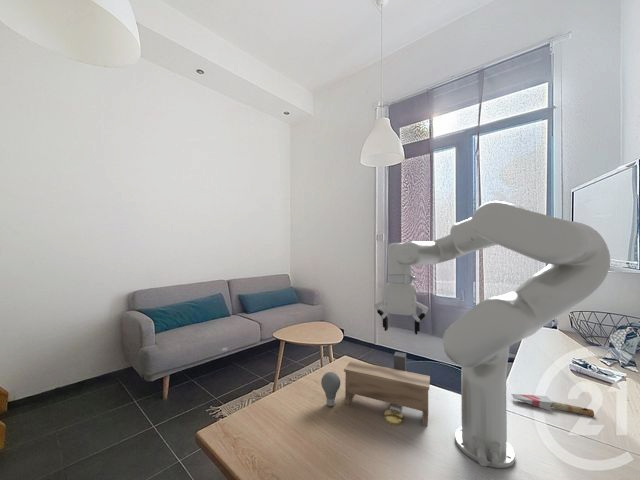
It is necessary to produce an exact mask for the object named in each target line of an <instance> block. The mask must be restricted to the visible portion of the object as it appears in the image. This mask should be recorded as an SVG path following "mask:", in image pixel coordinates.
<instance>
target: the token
mask: <svg viewBox="0 0 640 480" xmlns="http://www.w3.org/2000/svg"><path fill="white" fill-rule="evenodd" d="M383 419H384V420H385V422H386V423H387V424H388V425H391V426H394V427H395V426H400V425H402V424H403V415H402V412H401V413H400V412H398V411H396V410H390V409H387V410H385V411H384V417H383Z"/></svg>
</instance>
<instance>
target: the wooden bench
mask: <svg viewBox="0 0 640 480" xmlns="http://www.w3.org/2000/svg"><path fill="white" fill-rule="evenodd" d="M343 372H345V378H344V379H345V381H344V382H345V384H344V385H345V391H344V393H345V398H344V399H345V401H344V402H345V405H348V406H349V405H350V404H351V403H352V401H353V399H354V397H355V395H356V396H361V397H364V398H367V399H373V400H377V401H381V402H385V403H388V404H391V403H392V404H396V405H400V406H403V407H404V408H408V409H413V410H416V411H420V412H422V426H425V427H428V421H429V391H430V387H431V376H430V375H427V374H421V373H417V372H416V373H415V372H412V371H411V372H410V371H407V370H406V371H401V370H396V369H394V368H391V367H386V366H382V365H381V366H380V365H374V364H370V363H366V362H360V361H355V360H354V361H353V360H350V361H349V362H348V364H347V365H346V366H345V367H344V369H343Z"/></svg>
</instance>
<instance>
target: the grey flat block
mask: <svg viewBox="0 0 640 480" xmlns="http://www.w3.org/2000/svg"><path fill="white" fill-rule="evenodd" d="M393 369H396V370H401V371H407V353H406V352H401V351H395V352H394V354H393ZM403 407H404V406H400V405H396V404H392V403H390V405H389V410H396V411H398V412H400V413H401V414H402V412H403Z"/></svg>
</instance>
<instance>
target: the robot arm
mask: <svg viewBox="0 0 640 480" xmlns="http://www.w3.org/2000/svg"><path fill="white" fill-rule="evenodd" d="M449 231H450V232H449V233H450V234H448V235H446V236H444V237H443V236H442V237H441V238H438V239H435V240H431V241H425V240H423V241H422V240H421V241H420V240H418V241H416V240H413V241H407V242H393V243H389V244H388V246H387V272H388V273H387V275H388V276H387V277H388V282H387V283H385V284H386V286H385V291H384V299H383V300H381V301H379V302H376V303H375V304H374V305H373V306H374V308H375V310H376V313H377V314H378V315H379V316H380V317H381V318H382V328H384V332H387V331H388V330H389V317H388V315H389V314H392V315H401V316H412V318H413V319H414V334H415V335H418V333H419V332H420V331H421V328H420V327H421V325H420V322H421V321H422V320H423V319H424V318H425V317H426V315H427V313H428V311H429V307H428V306H426V305H424V304H423V303H421V302H418V301H417V292H416V285H415V284H414V283H412V282H416V281H417V277H416V276H413V274H412V266H426V265H427V266H433V265H437V264H441V263H444V262H448V261H452V260H454V259H458V258H460V257H462V256H466V255H467V254H471V253H473V252H476V251H477V252H478V251H480V250H483V249H487V248H490V247H494V246H500V247H503V248H504V249H507V250H510V251H512V252H515V253H517V254H520V255H522V256H525V257H527V258H530V259H532V260H535V261H536V262H537V261H538V262H540V263H544V264H547V265H546V266H544V268H543V269H541V270H539V271H538V272H536V273H534V274H533V275H532V276H530V277H529V278H528V279H527V280H526V281H525V282H523V283H522V284H520V285H519V286H518V287H516V288H514V289H513V290H512V291H509V292H507V293H505V294H500V295H495V296H492V297H489V298H485V299H484V300H482V301H480V302H478V303H477V304H476V305H474V306H473V307H472V308H471V309H469V310H468V311H467V312H466V313H464V314H462V316H460V317H459V318H458V319H456V320H455V321H454V322H453V323H451V324H450V325H449V326H448V327H447V328H446V330H445V331H444V333H443V335H442V342H441V343H442V348H443V351H444V353H445V355H446V356H447V358H448V359H449V360H450V361H451V362H453V364H455V365H458V366H460V367H461V375H460V376H461V378H460V381H461V383H460V384H461V393H460V394H461V426H460V427H459V428H457V429H456V431H455V432H454V440H455V443H456V445H457V447H458V448H459V449H460V451H462V452H463V454H464V455H466V456H467V457H469V458H470V459H472V460H474V462H477V463H479V464H480V465H481V466H482V467H487V466H488V467H491V468H495V469H496V468H497V469H505V468H509V467H511V466H513V464H515V461H516V452H515V450H514V448H513V447H512V445H511V444H510V443H509V442H508V441H507V440H508V438H507V437H508V434H507V433H508V428H507V422H508V421H507V420H508V419H507V418H508V417H507V372H508V371H507V370H508V361H509V356H510V355H509V353H510V347H511V346H513V345H514V344H516V343H519V342H520V341H522V340H524V339H528V338H529V337H531V336H533V335H534V334H536V333H537V332H538V331H539V330H541V329H542V328H544V327H545V326H546V325H548V324H549V323H551V322H552V321H554V320H555V319H557V318H558V317H560V316H562V315H563V314H565V313H566V312H568V311H569V310H570V309H572V308H573V307H575V306H577V305H578V304H580V303H581V302H583V301H584V300H586V299H587V298H588V297H590V296H592V295H593V293H594V292H596V291H597V290H598V289H599V287H600V286H601V285H602V284H603V283H604V281H605V280H606V278H607V276H608V273H609V270H610V266H611V254H610V250H609V247H608V244H607V243H606V241H605V239H604V237H603V236H602V235H601V233H599V232H598V231H597V230H596V229H594V228H593V227H592V226H590V225H587V224H585V223H582V222H577V221H572V220H571V221H570V220H567V219H562V218H559V217H554V216H551V215H547V214H543V213H539V212H537V211H532V210H529V209H525V208H524V207H522V206H520V205H518V204H515V203H510V202H506V201H499V200H493V201H489V202H485V203H484V204H481V205H480V206H478V207H477V208H476V209H475V210H474V211H473V213H472V215H471V217H469V218H468V219H464V220H461V221H460V222H455V223H454V224H453V225H452V226H451V228H450V230H449ZM383 305H384V311H383V310H382V309H381V306H383ZM418 308H419V309H420V310H422V311H421V313H420V314H418V312H417V311H418Z"/></svg>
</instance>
